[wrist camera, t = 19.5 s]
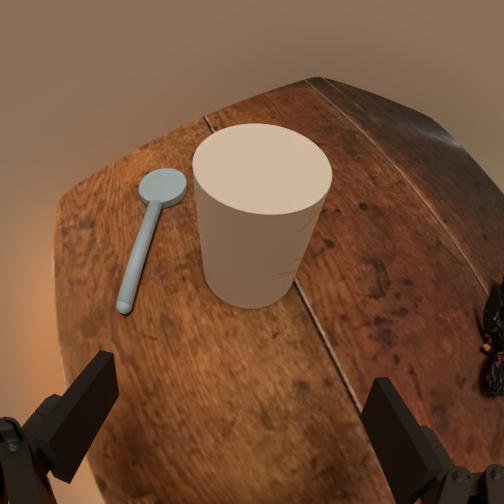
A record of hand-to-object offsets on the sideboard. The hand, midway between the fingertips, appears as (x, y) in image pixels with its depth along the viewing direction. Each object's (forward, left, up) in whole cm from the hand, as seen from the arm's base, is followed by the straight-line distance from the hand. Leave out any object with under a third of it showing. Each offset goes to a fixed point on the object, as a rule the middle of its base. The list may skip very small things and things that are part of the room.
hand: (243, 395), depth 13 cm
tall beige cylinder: (0, +12, -9) cm, 15 cm away
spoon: (-10, +15, -8) cm, 20 cm away
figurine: (+28, +6, -9) cm, 30 cm away
